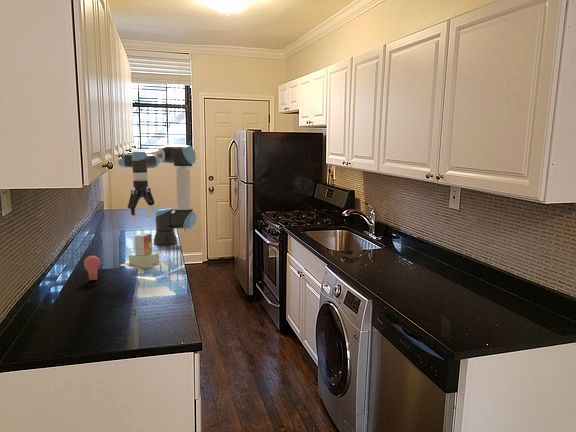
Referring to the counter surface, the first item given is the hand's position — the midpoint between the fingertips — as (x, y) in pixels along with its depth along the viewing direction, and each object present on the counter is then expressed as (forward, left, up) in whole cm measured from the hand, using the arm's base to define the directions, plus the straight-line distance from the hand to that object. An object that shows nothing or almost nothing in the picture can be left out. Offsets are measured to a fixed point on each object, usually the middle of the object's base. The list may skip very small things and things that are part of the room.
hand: (142, 218), depth 239 cm
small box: (+5, +4, -18) cm, 19 cm away
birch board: (+5, +4, -24) cm, 25 cm away
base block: (+5, +4, -23) cm, 24 cm away
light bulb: (+37, -1, -25) cm, 44 cm away
